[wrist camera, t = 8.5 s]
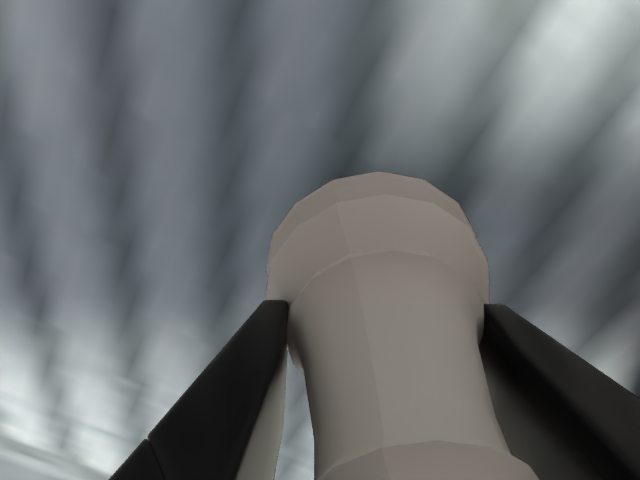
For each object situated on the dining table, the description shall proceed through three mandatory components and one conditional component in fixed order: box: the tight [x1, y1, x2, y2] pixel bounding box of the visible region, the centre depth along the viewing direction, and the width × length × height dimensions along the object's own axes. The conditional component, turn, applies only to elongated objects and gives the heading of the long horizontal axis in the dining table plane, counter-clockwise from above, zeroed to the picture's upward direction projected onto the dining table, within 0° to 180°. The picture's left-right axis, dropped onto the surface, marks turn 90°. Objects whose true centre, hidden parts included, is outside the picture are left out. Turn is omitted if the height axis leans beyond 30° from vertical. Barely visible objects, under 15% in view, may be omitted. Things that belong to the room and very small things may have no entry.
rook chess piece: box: [265, 171, 539, 480], centre depth 6 cm, size 4×4×8 cm
